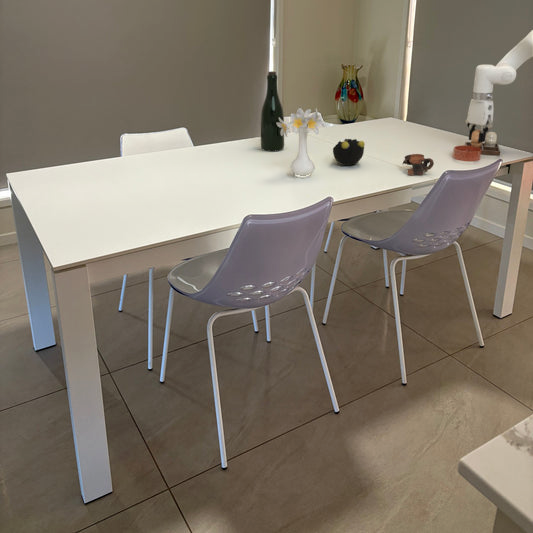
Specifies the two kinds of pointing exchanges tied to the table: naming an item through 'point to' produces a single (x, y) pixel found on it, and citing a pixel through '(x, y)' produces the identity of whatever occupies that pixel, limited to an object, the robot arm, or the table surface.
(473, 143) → the egg
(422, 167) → the pottery mug
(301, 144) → the flower vase
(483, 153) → the egg holder
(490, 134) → the egg
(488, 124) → the robot arm
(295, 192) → the table surface
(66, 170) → the table surface
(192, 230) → the table surface
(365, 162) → the table surface
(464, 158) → the bowl
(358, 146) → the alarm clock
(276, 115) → the wine bottle
